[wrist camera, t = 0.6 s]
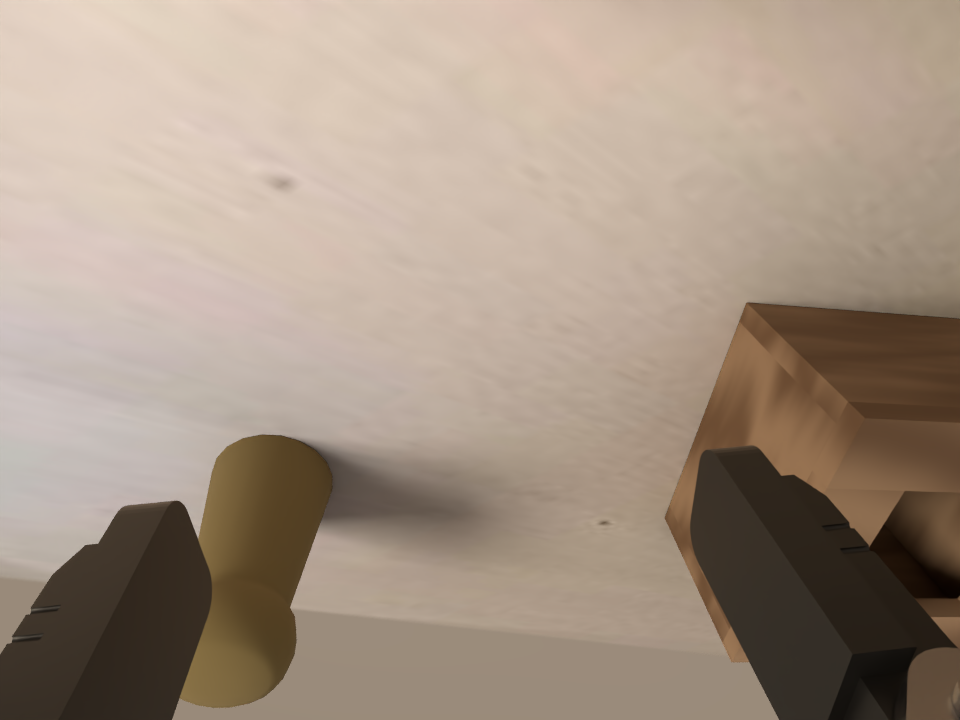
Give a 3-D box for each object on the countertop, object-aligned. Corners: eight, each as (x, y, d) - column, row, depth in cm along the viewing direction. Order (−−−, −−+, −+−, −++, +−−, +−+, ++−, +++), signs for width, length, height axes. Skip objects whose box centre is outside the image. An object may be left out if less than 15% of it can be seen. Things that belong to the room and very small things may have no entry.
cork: (352, 501, 33) (328, 704, 24) (251, 535, 34) (189, 746, 25) (297, 418, 30) (245, 615, 21) (188, 457, 31) (88, 665, 21)
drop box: (746, 302, 29) (865, 418, 21) (1006, 322, 31) (1200, 434, 23) (664, 518, 36) (731, 662, 28) (880, 523, 38) (996, 659, 30)
